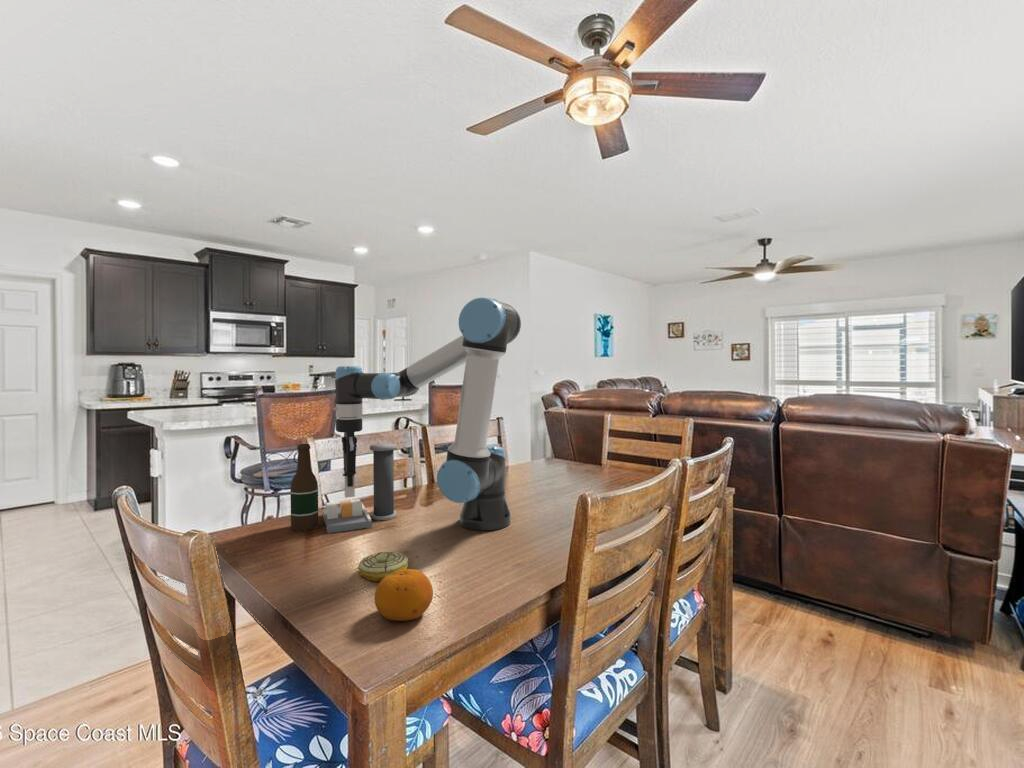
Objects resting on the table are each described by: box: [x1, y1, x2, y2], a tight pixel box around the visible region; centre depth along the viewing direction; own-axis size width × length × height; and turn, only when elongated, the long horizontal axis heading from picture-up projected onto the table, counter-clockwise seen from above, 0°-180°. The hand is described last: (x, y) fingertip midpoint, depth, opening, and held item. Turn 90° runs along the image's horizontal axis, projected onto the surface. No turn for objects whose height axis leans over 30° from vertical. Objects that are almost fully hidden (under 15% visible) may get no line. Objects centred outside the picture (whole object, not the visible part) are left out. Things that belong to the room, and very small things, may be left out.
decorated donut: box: [357, 551, 409, 582], centre depth 109 cm, size 10×11×4 cm
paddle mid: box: [339, 499, 352, 518], centre depth 144 cm, size 5×3×4 cm, turn 25°
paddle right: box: [350, 498, 363, 516], centre depth 145 cm, size 5×3×4 cm, turn 25°
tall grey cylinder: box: [369, 443, 398, 522], centre depth 149 cm, size 8×8×22 cm
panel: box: [322, 502, 373, 534], centre depth 144 cm, size 18×12×3 cm, turn 25°
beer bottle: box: [289, 443, 319, 532], centre depth 138 cm, size 8×8×24 cm
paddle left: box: [325, 501, 339, 519], centre depth 142 cm, size 5×3×4 cm, turn 25°
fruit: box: [374, 568, 434, 622], centre depth 90 cm, size 10×10×8 cm
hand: (349, 496), depth 144 cm, fingers closed
